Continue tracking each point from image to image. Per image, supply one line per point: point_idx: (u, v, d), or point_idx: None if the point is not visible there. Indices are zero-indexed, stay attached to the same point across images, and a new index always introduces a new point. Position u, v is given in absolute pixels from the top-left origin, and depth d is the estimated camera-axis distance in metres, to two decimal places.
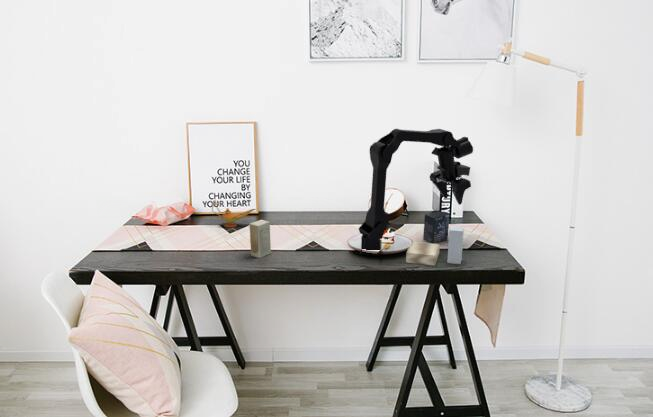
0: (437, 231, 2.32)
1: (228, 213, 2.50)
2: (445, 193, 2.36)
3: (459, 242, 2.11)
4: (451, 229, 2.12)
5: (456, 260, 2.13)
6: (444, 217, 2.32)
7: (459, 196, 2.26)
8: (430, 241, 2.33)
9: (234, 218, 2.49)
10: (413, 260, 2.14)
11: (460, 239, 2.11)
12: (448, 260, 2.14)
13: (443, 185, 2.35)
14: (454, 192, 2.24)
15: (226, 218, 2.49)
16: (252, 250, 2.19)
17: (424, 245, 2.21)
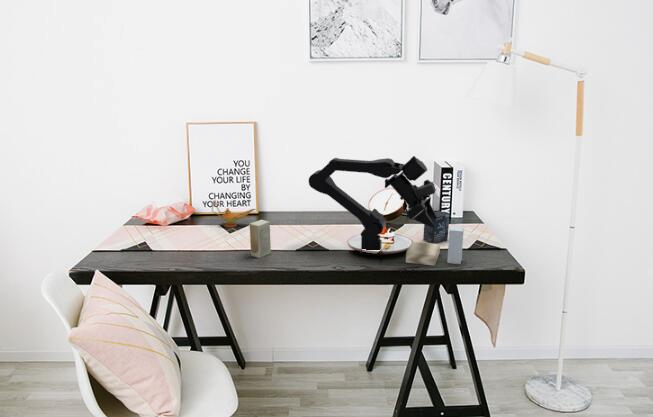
0: (437, 231, 2.32)
1: (228, 213, 2.50)
2: (432, 214, 2.19)
3: (459, 242, 2.11)
4: (451, 229, 2.12)
5: (456, 260, 2.13)
6: (444, 217, 2.32)
7: (424, 220, 2.09)
8: (430, 241, 2.33)
9: (234, 218, 2.49)
10: (413, 260, 2.14)
11: (460, 239, 2.11)
12: (448, 260, 2.14)
13: (426, 207, 2.19)
14: None
15: (226, 218, 2.49)
16: (252, 250, 2.19)
17: (424, 245, 2.21)
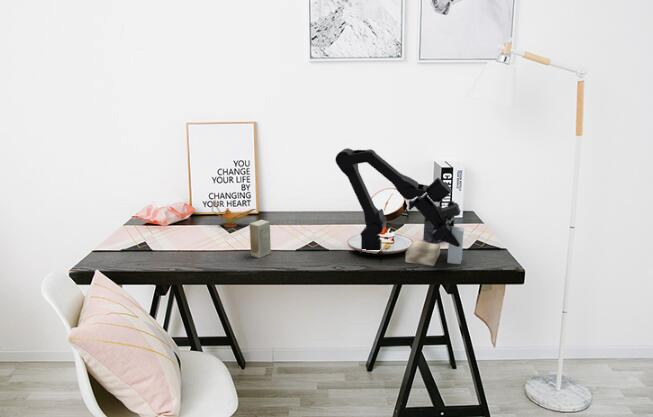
0: None
1: (228, 213, 2.50)
2: None
3: (459, 242, 2.11)
4: None
5: (456, 260, 2.13)
6: None
7: (450, 239, 2.11)
8: (430, 241, 2.33)
9: (234, 218, 2.49)
10: (412, 260, 2.14)
11: (460, 239, 2.11)
12: (448, 260, 2.14)
13: None
14: (439, 239, 2.11)
15: (226, 218, 2.49)
16: (252, 250, 2.19)
17: (424, 245, 2.21)
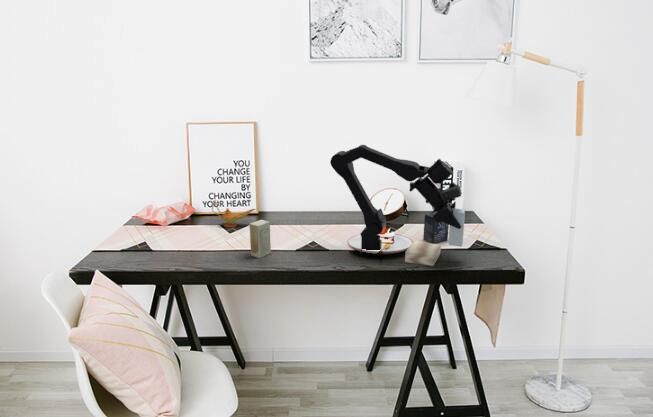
0: (437, 231, 2.32)
1: (228, 213, 2.50)
2: None
3: (460, 224, 2.09)
4: None
5: (457, 242, 2.11)
6: None
7: (451, 221, 2.09)
8: (430, 241, 2.33)
9: (234, 218, 2.49)
10: (412, 260, 2.14)
11: (461, 221, 2.09)
12: (449, 242, 2.12)
13: None
14: (440, 221, 2.09)
15: (226, 218, 2.49)
16: (252, 250, 2.19)
17: (424, 245, 2.21)
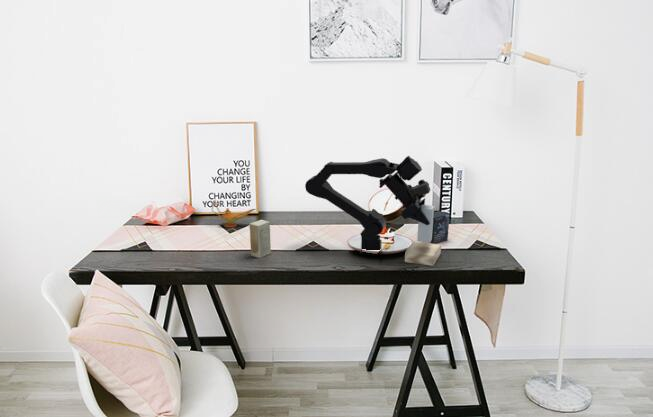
0: (437, 231, 2.32)
1: (228, 213, 2.50)
2: None
3: (429, 220, 2.12)
4: None
5: (426, 238, 2.14)
6: (444, 217, 2.32)
7: (419, 218, 2.11)
8: None
9: (234, 218, 2.49)
10: (411, 260, 2.14)
11: (430, 217, 2.12)
12: (418, 238, 2.15)
13: None
14: (409, 217, 2.12)
15: (226, 218, 2.49)
16: (252, 250, 2.19)
17: (424, 245, 2.21)
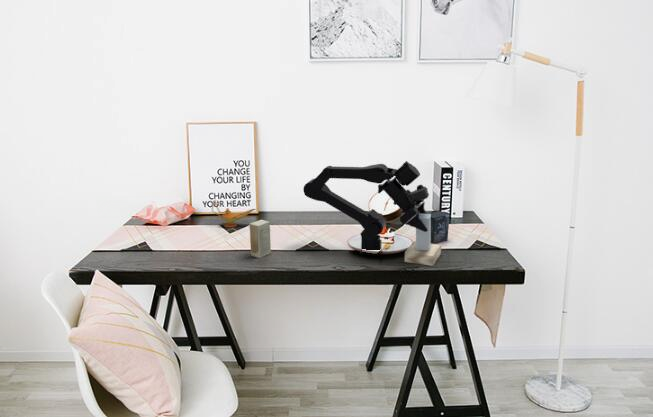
0: (437, 231, 2.32)
1: (228, 213, 2.50)
2: None
3: None
4: None
5: (424, 247, 2.15)
6: (444, 217, 2.32)
7: (417, 224, 2.10)
8: None
9: (234, 218, 2.49)
10: (411, 260, 2.14)
11: (427, 226, 2.12)
12: (417, 247, 2.16)
13: (420, 212, 2.20)
14: None
15: (226, 218, 2.49)
16: (252, 250, 2.19)
17: None
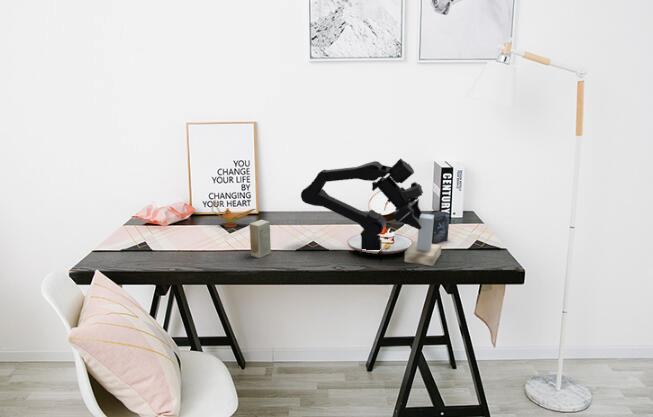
0: (437, 231, 2.32)
1: (228, 213, 2.50)
2: None
3: (429, 230, 2.13)
4: (421, 216, 2.13)
5: (425, 247, 2.15)
6: (444, 217, 2.32)
7: (411, 222, 2.10)
8: None
9: (234, 218, 2.49)
10: (411, 260, 2.14)
11: (430, 227, 2.12)
12: (418, 247, 2.16)
13: (414, 209, 2.20)
14: (400, 221, 2.11)
15: (226, 218, 2.49)
16: (252, 250, 2.19)
17: None
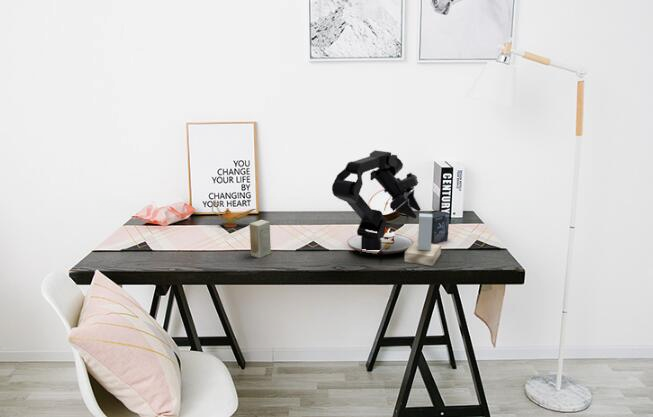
0: (437, 231, 2.32)
1: (228, 213, 2.50)
2: (416, 206, 2.27)
3: (429, 228, 2.14)
4: (421, 216, 2.14)
5: (426, 246, 2.15)
6: (444, 217, 2.32)
7: (407, 211, 2.18)
8: None
9: (234, 218, 2.49)
10: (411, 260, 2.14)
11: (430, 225, 2.13)
12: (418, 247, 2.16)
13: (410, 199, 2.28)
14: (396, 210, 2.18)
15: (226, 218, 2.49)
16: (252, 250, 2.19)
17: None
